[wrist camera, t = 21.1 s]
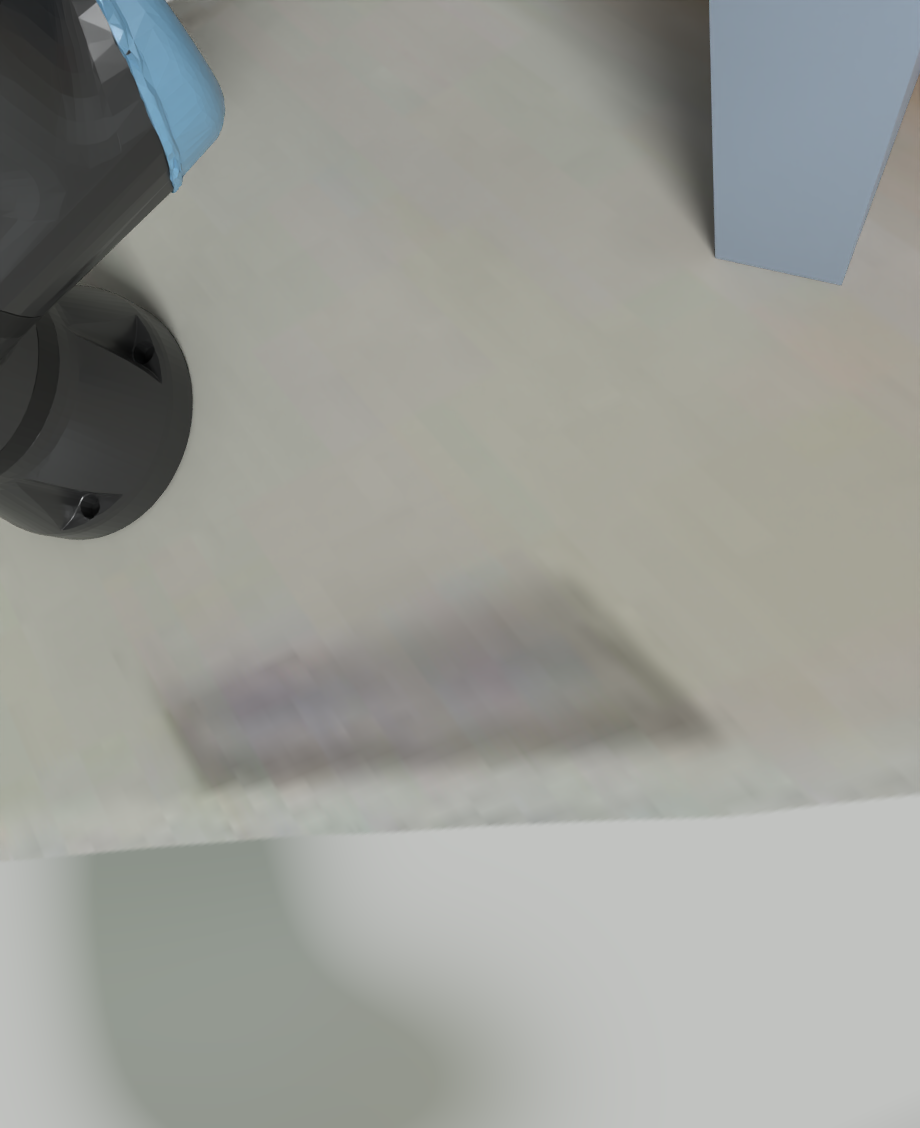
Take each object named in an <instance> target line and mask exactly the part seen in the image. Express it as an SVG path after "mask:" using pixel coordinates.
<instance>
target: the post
mask: <svg viewBox="0 0 920 1128" xmlns="http://www.w3.org/2000/svg"><path fill="white" fill-rule="evenodd" d="M709 18H710V59H711V101H712V142H713V184H714V225H715V258H718V259H723V260H728V261H732V262H737V263H741V264H746V265H750V266H755V267H760V268H764V269H769V270H773V271H778V272H783V273H787V274H792V275H796V276H801V277H805V278H810V279H815V280H819V281H824V282H828V283H833V284H838V285H842V282H843V279H844V277H845V274H846V271H847V269H848V266H849V263H850V260H851V258H852V255H853V252H854V250H855V247H856V244H857V241H858V239H859V236H860V233H861V231H862V228H863V225H864V222H865V220H866V217H867V214H868V212H869V209H870V206H871V203H872V201H873V198H874V195H875V193H876V190H877V187H878V184H879V182H880V179H881V176H882V174H883V171H884V168H885V165H886V163H887V160H888V157H889V155H890V152H891V149H892V146H893V144H894V141H895V138H896V136H897V133H898V130H899V127H900V125H901V122H902V119H903V117H904V114H905V111H906V108H907V106H908V103H909V100H910V98H911V95H912V92H913V89H914V87H915V84H916V81H917V79H918V76H919V73H920V0H709Z"/></svg>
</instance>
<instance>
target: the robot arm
mask: <svg viewBox="0 0 920 1128" xmlns="http://www.w3.org/2000/svg"><path fill="white" fill-rule="evenodd" d="M224 116H225V106H224V97H223V93H222V90H221V88H220V85H219V83H218V81H217V79H216V78H215V76H214V74H213V72H212V71H211V69H210V68H209V66H208V64H207V63H206V61H205V59H204V58H203V56H202V55H201V53H200V52H199V50H198V48H197V47H196V45H195V44H194V42H193V41H192V39H191V38H190V36H189V35H188V33H187V32H186V30H185V29H184V27H183V26H182V24H181V23H180V21H179V20H178V18H177V17H176V15H175V14H174V12H173V11H172V9H171V8H170V7H169V5H168V4H167V2H166V1H165V0H0V517H1V518H3V519H4V520H6V521H8V522H9V523H11V524H13V525H15V526H17V527H19V528H21V529H24V530H27V531H29V532H32V533H36V534H40V535H46V536H52V537H59V538H65V539H74V540H84V539H93V538H98V537H102V536H105V535H108V534H111V533H114V532H116V531H118V530H120V529H122V528H124V527H126V526H127V525H129V524H131V523H132V522H134V521H135V520H136V519H138V518H139V517H140V516H141V515H143V514H144V513H145V512H146V511H147V510H148V509H149V508H150V507H151V506H152V505H153V504H154V503H155V502H156V501H157V500H158V498H159V497H160V496H161V495H162V493H163V492H164V491H165V489H166V488H167V486H168V485H169V483H170V482H171V480H172V478H173V476H174V474H175V473H176V471H177V469H178V466H179V464H180V462H181V459H182V457H183V454H184V451H185V448H186V445H187V441H188V437H189V432H190V427H191V419H192V390H191V382H190V377H189V372H188V369H187V365H186V362H185V359H184V357H183V354H182V352H181V350H180V348H179V346H178V344H177V342H176V341H175V339H174V338H173V336H172V335H171V333H170V332H169V331H168V329H167V328H166V327H165V326H164V325H163V324H162V323H161V322H160V321H159V320H158V319H157V318H156V317H154V316H153V315H152V314H150V313H149V312H147V311H146V310H144V309H142V308H141V307H139V306H137V305H135V304H133V303H132V302H130V301H128V300H126V299H124V298H123V297H121V296H119V295H117V294H114V293H112V292H109V291H106V290H103V289H99V288H95V287H89V286H81V285H76V284H77V283H78V282H79V281H80V280H81V279H82V278H83V277H84V276H85V275H86V274H87V273H88V272H89V271H90V270H91V269H92V268H93V267H94V266H95V265H96V264H97V263H98V262H99V261H100V260H101V259H102V258H104V257H105V256H106V255H107V254H108V253H109V252H110V251H111V250H112V249H113V248H114V247H115V246H116V245H117V244H118V243H119V242H120V241H121V240H122V239H123V238H124V237H125V236H126V235H127V234H128V233H129V232H130V231H131V230H132V229H133V228H134V227H136V226H137V225H138V224H139V223H140V222H141V221H142V220H143V219H144V218H145V217H146V216H147V215H148V214H149V213H150V212H151V211H152V210H153V209H154V208H155V207H156V206H157V205H158V204H159V203H160V202H161V201H162V200H163V199H164V198H165V197H166V196H168V195H169V194H170V193H171V192H172V193H175V192H176V191H177V190H178V187H180V186H181V185H182V182H183V176H184V175H185V174H186V172H187V171H188V170H189V169H190V168H191V167H192V166H193V165H194V163H195V162H196V161H197V160H198V159H199V158H200V157H201V156H202V155H203V154H204V152H205V151H206V150H207V149H208V148H209V147H210V146H211V145H212V144H213V142H214V141H215V140H216V139H217V138H218V136H219V133H220V131H221V129H222V126H223V120H224Z"/></svg>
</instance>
